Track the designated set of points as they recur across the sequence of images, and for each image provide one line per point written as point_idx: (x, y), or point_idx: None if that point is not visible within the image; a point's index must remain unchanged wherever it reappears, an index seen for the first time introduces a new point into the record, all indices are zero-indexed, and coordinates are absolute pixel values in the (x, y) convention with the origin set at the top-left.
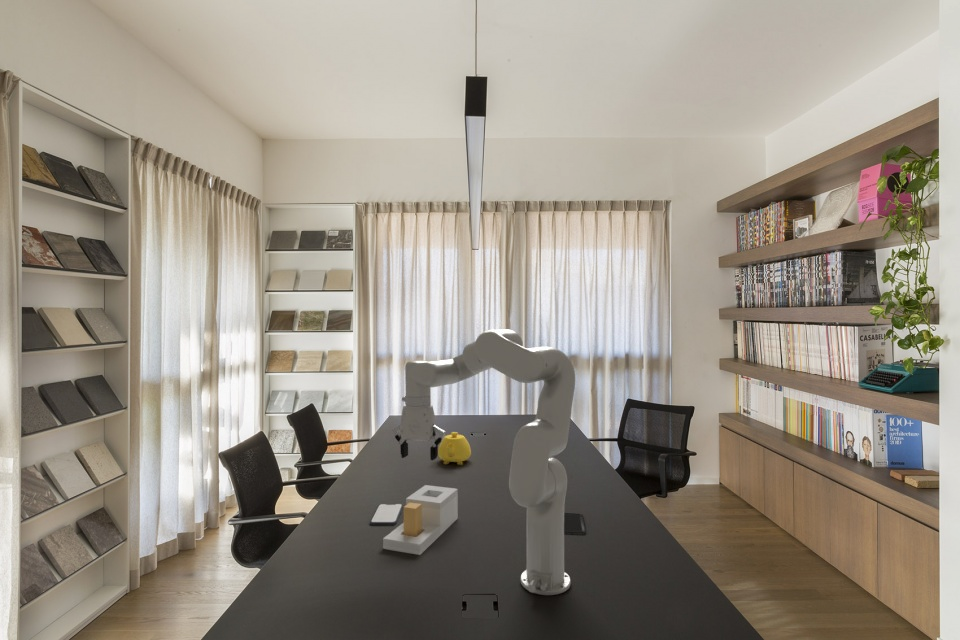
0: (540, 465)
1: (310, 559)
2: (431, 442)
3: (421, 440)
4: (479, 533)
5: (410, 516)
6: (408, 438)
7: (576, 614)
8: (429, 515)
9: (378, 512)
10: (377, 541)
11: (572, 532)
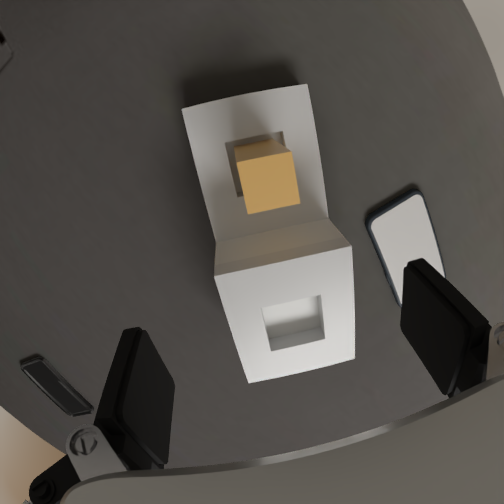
0: None
1: None
2: (101, 465)
3: (190, 469)
4: (144, 290)
5: (256, 152)
6: (448, 416)
7: None
8: (253, 245)
9: (430, 244)
10: (343, 114)
11: (30, 361)
